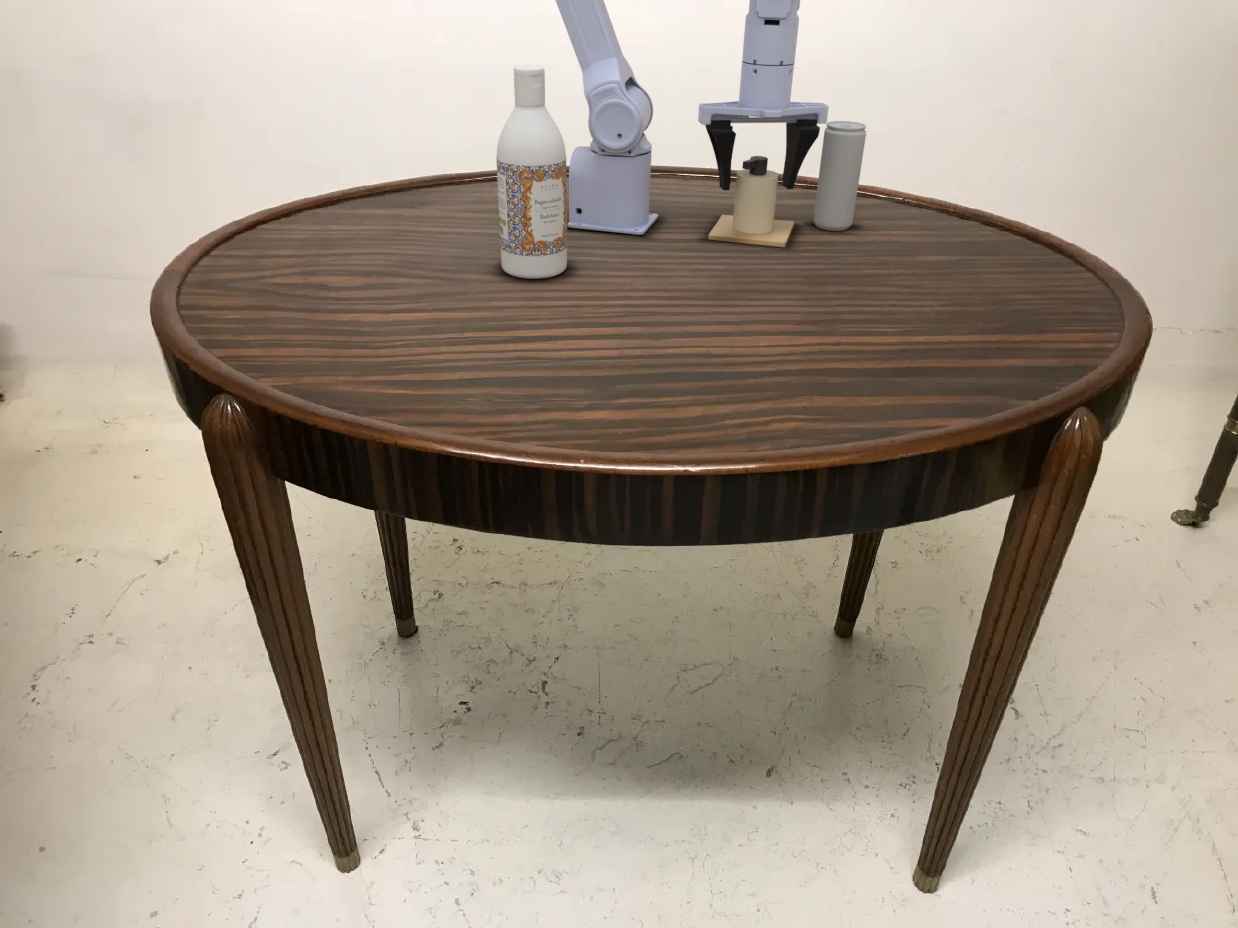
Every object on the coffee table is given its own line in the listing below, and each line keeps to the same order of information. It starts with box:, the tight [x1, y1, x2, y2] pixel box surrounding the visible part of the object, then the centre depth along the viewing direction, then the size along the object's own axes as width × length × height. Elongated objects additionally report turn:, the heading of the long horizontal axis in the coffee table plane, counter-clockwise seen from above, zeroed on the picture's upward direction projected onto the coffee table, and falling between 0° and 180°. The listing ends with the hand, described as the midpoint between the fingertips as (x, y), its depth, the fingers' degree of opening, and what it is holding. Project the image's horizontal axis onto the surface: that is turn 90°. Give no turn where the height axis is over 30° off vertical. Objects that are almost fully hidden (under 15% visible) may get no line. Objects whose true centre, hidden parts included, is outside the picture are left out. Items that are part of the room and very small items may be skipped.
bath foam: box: [495, 64, 568, 280], centre depth 94 cm, size 7×7×20 cm
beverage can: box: [812, 120, 867, 232], centre depth 112 cm, size 5×5×12 cm
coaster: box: [707, 214, 795, 248], centre depth 112 cm, size 9×9×1 cm
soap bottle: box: [732, 155, 779, 234], centre depth 109 cm, size 5×5×8 cm
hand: (756, 187), depth 109 cm, fingers open, 7 cm apart
